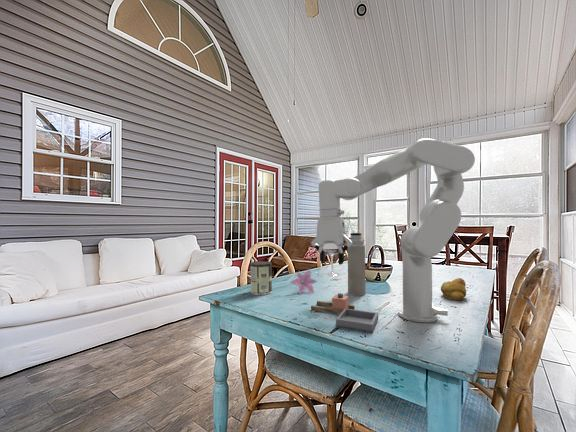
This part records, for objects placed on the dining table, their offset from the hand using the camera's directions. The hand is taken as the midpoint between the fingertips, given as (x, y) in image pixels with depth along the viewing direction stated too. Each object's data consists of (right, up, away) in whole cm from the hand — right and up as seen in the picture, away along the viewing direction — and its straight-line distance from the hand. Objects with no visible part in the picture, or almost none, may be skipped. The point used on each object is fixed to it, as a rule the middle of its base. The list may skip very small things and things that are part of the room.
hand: (332, 263), depth 103 cm
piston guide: (+1, -19, +4) cm, 19 cm away
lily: (-8, -19, +32) cm, 38 cm away
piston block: (+4, -19, +4) cm, 20 cm away
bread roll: (+56, -19, +20) cm, 62 cm away
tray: (+7, -19, -8) cm, 22 cm away
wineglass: (0, -4, 0) cm, 4 cm away
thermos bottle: (+16, -19, +28) cm, 38 cm away
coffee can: (-29, -19, +32) cm, 47 cm away
